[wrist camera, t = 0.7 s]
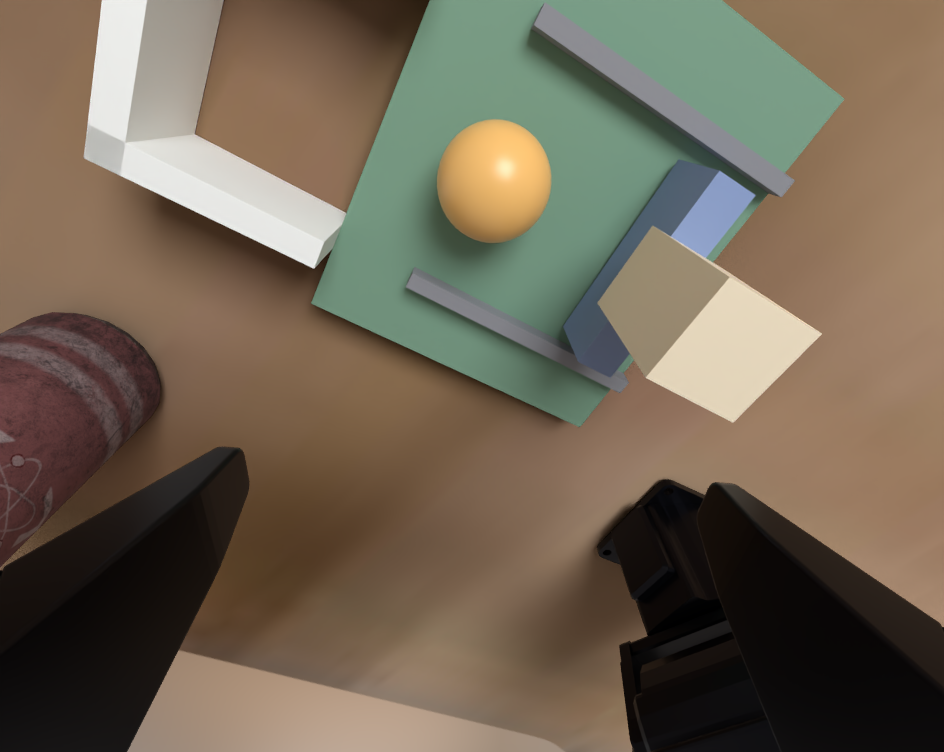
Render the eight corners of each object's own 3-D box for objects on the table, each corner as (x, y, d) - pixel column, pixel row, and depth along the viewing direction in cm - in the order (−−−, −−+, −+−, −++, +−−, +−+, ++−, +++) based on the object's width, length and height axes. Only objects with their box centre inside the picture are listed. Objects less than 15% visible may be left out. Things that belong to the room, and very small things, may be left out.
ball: (562, 153, 16) (586, 165, 13) (509, 246, 18) (518, 277, 15) (470, 94, 15) (471, 93, 12) (422, 198, 17) (412, 220, 14)
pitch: (814, 99, 17) (862, 99, 15) (573, 409, 23) (583, 437, 21) (496, -152, 13) (501, -196, 11) (321, 290, 20) (305, 311, 18)
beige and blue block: (724, 190, 16) (903, 252, 10) (604, 348, 20) (677, 478, 13) (662, 148, 16) (808, 183, 9) (548, 318, 19) (593, 439, 12)
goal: (456, -50, 15) (452, -97, 11) (342, 238, 19) (314, 268, 16) (228, -212, 13) (139, -328, 9) (160, 146, 17) (83, 157, 14)
